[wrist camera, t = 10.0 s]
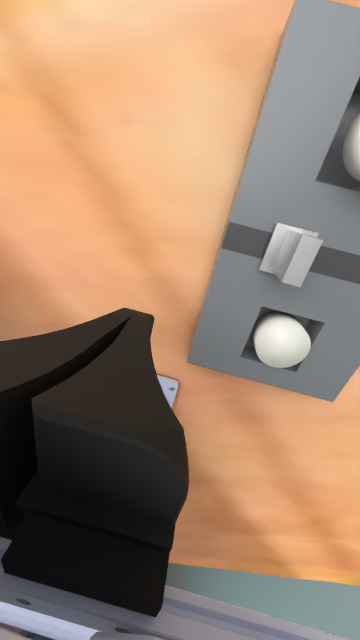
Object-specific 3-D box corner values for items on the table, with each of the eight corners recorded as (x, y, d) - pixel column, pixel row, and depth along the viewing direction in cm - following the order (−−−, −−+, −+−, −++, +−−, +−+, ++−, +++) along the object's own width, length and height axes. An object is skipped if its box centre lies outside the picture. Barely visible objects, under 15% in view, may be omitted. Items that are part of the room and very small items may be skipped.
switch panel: (320, 381, 21) (332, 402, 19) (189, 345, 21) (186, 362, 19) (514, 86, 12) (582, 60, 10) (283, 30, 12) (297, -7, 10)
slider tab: (295, 278, 15) (311, 294, 12) (258, 268, 15) (266, 282, 12) (316, 232, 14) (340, 239, 11) (276, 222, 14) (290, 226, 11)
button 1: (289, 357, 19) (296, 373, 17) (245, 345, 19) (248, 360, 17) (310, 318, 18) (320, 331, 16) (262, 306, 18) (267, 317, 16)
